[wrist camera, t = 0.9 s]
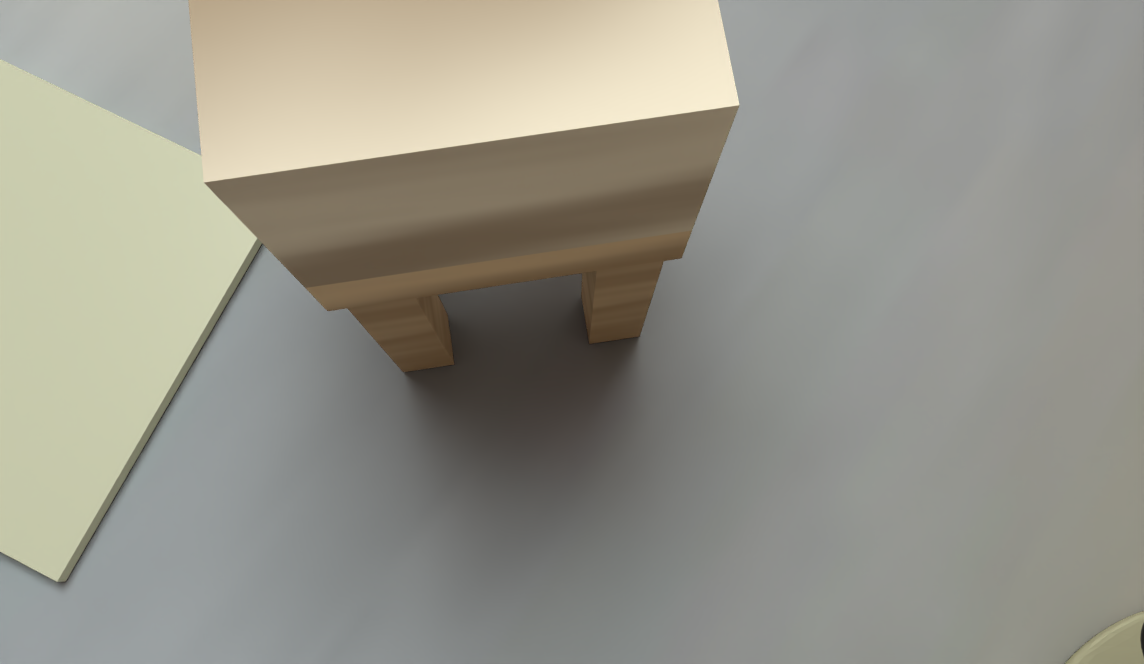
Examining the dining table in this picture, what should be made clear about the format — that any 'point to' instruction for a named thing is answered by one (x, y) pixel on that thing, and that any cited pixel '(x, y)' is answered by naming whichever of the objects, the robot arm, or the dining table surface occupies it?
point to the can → (1114, 644)
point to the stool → (463, 147)
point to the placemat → (94, 305)
